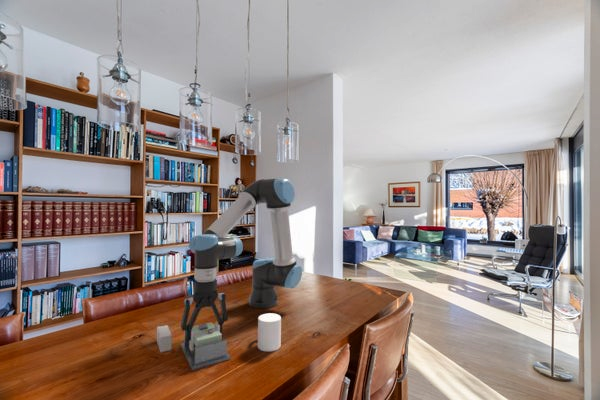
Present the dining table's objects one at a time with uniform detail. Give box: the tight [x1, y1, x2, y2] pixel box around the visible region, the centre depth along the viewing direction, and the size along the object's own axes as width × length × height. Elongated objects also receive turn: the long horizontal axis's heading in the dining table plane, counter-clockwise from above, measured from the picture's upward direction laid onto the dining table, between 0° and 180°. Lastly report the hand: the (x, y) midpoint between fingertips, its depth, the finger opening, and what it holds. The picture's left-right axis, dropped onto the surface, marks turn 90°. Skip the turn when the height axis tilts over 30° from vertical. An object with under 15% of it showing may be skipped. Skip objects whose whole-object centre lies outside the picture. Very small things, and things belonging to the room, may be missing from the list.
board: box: [192, 321, 223, 347], centre depth 97 cm, size 12×8×3 cm, turn 33°
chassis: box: [180, 330, 231, 371], centre depth 97 cm, size 18×12×6 cm, turn 33°
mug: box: [257, 312, 282, 352], centre depth 104 cm, size 8×10×12 cm
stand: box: [156, 324, 173, 353], centre depth 102 cm, size 10×4×5 cm, turn 33°
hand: (204, 345), depth 97 cm, fingers closed on board, 8 cm apart
